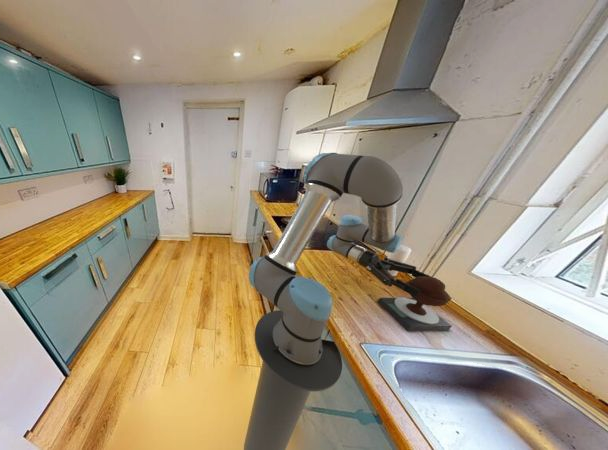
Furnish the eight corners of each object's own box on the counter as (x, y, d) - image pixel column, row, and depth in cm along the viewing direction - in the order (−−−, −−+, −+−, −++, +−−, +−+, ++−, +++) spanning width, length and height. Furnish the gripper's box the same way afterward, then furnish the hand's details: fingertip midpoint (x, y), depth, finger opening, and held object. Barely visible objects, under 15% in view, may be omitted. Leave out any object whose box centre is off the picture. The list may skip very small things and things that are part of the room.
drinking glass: (385, 268, 102) (397, 242, 96) (401, 276, 96) (415, 249, 90) (377, 270, 100) (389, 245, 94) (392, 279, 94) (406, 252, 88)
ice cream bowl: (446, 324, 68) (471, 290, 62) (409, 318, 70) (430, 285, 63) (421, 301, 77) (441, 270, 71) (389, 296, 79) (406, 266, 73)
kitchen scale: (407, 330, 69) (411, 324, 67) (377, 302, 80) (380, 296, 79) (448, 330, 69) (453, 324, 68) (412, 302, 81) (415, 296, 80)
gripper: (376, 257, 94) (437, 286, 76) (342, 271, 84) (404, 307, 66) (382, 244, 90) (447, 270, 73) (348, 256, 81) (415, 290, 63)
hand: (427, 288), depth 70 cm, fingers open, 13 cm apart
